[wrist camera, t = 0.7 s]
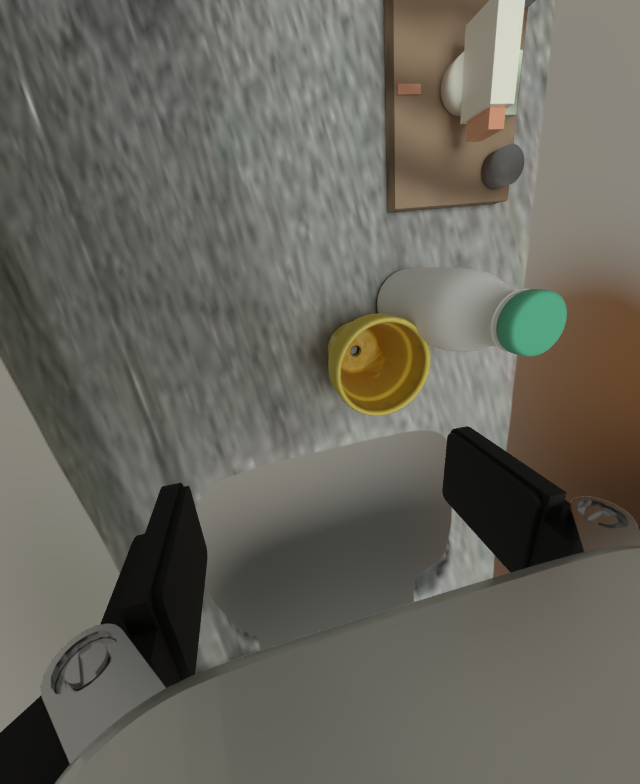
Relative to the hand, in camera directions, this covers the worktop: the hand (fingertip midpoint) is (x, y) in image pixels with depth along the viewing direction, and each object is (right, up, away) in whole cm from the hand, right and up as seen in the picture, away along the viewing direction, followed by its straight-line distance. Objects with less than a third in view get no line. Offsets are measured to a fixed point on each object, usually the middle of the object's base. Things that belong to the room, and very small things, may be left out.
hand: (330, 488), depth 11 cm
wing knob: (+14, +33, +20) cm, 41 cm away
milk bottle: (+10, +15, +29) cm, 34 cm away
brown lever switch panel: (+13, +34, +22) cm, 43 cm away
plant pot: (+4, +9, +29) cm, 31 cm away
